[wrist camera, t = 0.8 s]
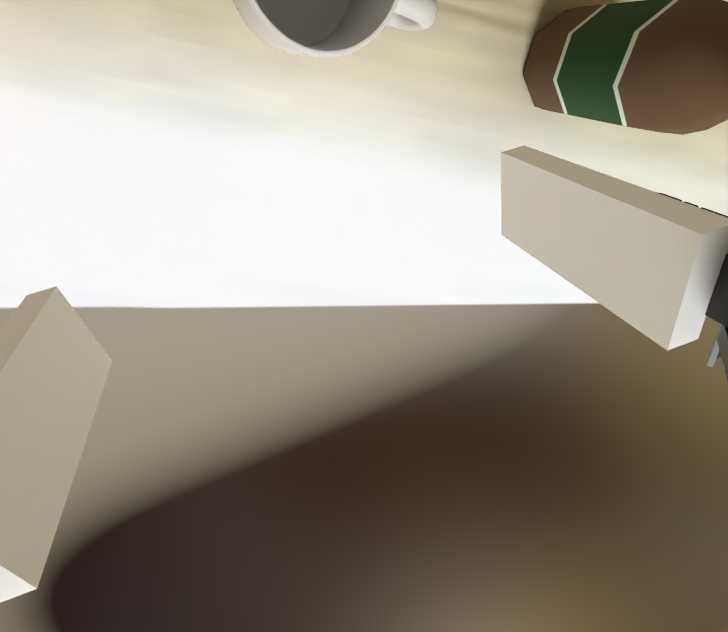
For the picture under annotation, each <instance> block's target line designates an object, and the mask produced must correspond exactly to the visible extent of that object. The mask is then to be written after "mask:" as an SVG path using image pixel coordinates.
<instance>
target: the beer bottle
mask: <svg viewBox="0 0 728 632" xmlns="http://www.w3.org/2000/svg"><path fill="white" fill-rule="evenodd" d="M523 77H524V80H525V82H526V85H527V88H528V90H529V93H530V96H531V98H532V101H533V103H534V106H535V107H538V108H541V109H545V110H548V111H553V112H558V113H563V114H568V115H573V116H578V117H583V118H588V119H592V120H597V121H602V122H607V123H612V124H617V125H622V126H627V127H632V128H638V129H644V130H650V131H656V132H663V133H673V134H682V135H683V134H688V133H693V132H698V131H703V130H707V129H709V128H711V127H713V126H715V125H717V124H719V123H721V122H724V121H726V120H728V2H727V1H723V0H644V1H634V2H624V3H615V4H605V5H595V6H586V7H579V8H574V9H569V10H566V11H564V12H563V13H562V14H561V15H560V16H558V17H557V18H556V19H555V20H554V21H552V22H551V23H550V24H549V25H548V26H546V27H545V28H544V29H543V30H542V31H540V32H539V33H538V34H537V35H536V36H535V37H534V40H533V43H532V46H531V50H530V53H529V56H528V60H527V63H526V66H525V70H524V73H523Z"/></svg>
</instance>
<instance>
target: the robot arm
mask: <svg viewBox="0 0 728 632" xmlns="http://www.w3.org/2000/svg"><path fill="white" fill-rule="evenodd" d="M501 199H502V235H503V236H504V237H506V238H507V239H509V240H510V241H511V242H513V243H514V244H516V245H517V246H519V247H520V248H522V249H523V250H524V251H526V252H527V253H529V254H530V255H532V256H533V257H534V258H536V259H537V260H539V261H540V262H542V263H543V264H544V265H546V266H547V267H549V268H550V269H552V270H553V271H554V272H556V273H557V274H559V275H560V276H562V277H563V278H564V279H566V280H567V281H569V282H570V283H572V284H573V285H574V286H576V287H577V288H579V289H580V290H582V291H583V292H584V293H586V294H587V295H589V296H590V297H592V298H593V299H594V300H596V301H597V302H599V303H600V304H602V305H603V306H605V307H606V308H607V309H609V310H610V311H612V312H613V313H615V314H616V315H617V316H619V317H620V318H622V319H623V320H625V321H626V322H627V323H629V324H630V325H632V326H633V327H635V328H636V329H637V330H639V331H640V332H642V333H643V334H645V335H646V336H647V337H649V338H650V339H652V340H653V341H655V342H656V343H657V344H659V345H660V346H662V347H663V348H665V349H666V350H670V349H673V348H675V347H678V346H680V345H683V344H686V343H688V342H691V341H694V340H696V339H698V337H699V334H700V331H701V329H702V325H703V323H704V320H705V317H706V316H708V317H710V318H712V319H714V320H715V321H717V322H719V323H721V326H720V328H719V331H718V333H717V336H716V338H715V341H714V344H713V346H712V349H711V351H710V354H709V357H708V360H707V366H710V367H713V365H714V363H715V360H716V359H717V358H719V357H720V356H721V358H722V361H723V366H722V368H724V369H725V373H726V377H727V380H728V216H725V215H722V214H720V213H717V212H714V211H711V210H708V209H705V208H703V207H702V208H698V206H697V205H694V204H691V203H688V202H682V200H680V199H677V198H674V197H671V196H668V195H666V194H663V193H657V192H653V191H650V190H648V189H645V188H642V187H639V186H636V185H634V184H631V183H628V182H625V181H622V180H619V179H617V178H614V177H611V176H608V175H605V174H603V173H600V172H597V171H594V170H591V169H588V168H586V167H583V166H580V165H577V164H574V163H572V162H569V161H566V160H563V159H560V158H557V157H555V156H552V155H549V154H546V153H543V152H541V151H538V150H535V149H532V148H529V147H527V146H521V147H518V148H514V149H511V150H508V151H505V152H501ZM111 364H112V360H111V359H110V358H109V356H108V355H107V354H106V352H105V351H104V350H103V348H102V347H101V346H100V344H99V343H98V341H97V340H96V339H95V338H94V336H93V335H92V334H91V332H90V331H89V329H88V328H87V327H86V325H85V324H84V323H83V321H82V320H81V319H80V317H79V316H78V315H77V313H76V312H75V311H74V309H73V308H72V307H71V305H70V304H69V303H68V301H67V300H66V299H65V297H64V296H63V295H62V293H61V292H60V291H59V289H58V288H57V286H56V287H53V288H50V289H46V290H43V291H40V292H36V293H33V294H30V295H27V296H26V297H25V299H24V300H23V301H22V303H21V304H20V305H19V307H18V308H17V309H16V311H15V312H14V313H13V315H12V316H11V317H10V319H9V320H8V321H7V323H6V324H5V325H4V327H3V328H2V329H1V331H0V602H3V601H5V600H8V599H11V598H13V597H16V596H19V595H21V594H24V593H27V592H29V591H32V590H35V589H37V586H38V583H39V581H40V577H41V575H42V572H43V569H44V566H45V563H46V560H47V557H48V554H49V550H50V548H51V545H52V542H53V539H54V535H55V532H56V529H57V526H58V523H59V520H60V517H61V514H62V511H63V508H64V505H65V502H66V499H67V496H68V493H69V490H70V487H71V484H72V481H73V478H74V475H75V472H76V469H77V466H78V463H79V460H80V457H81V454H82V451H83V448H84V445H85V442H86V439H87V436H88V433H89V430H90V427H91V424H92V421H93V418H94V415H95V412H96V409H97V406H98V403H99V400H100V397H101V394H102V391H103V388H104V385H105V382H106V379H107V376H108V373H109V370H110V367H111Z"/></svg>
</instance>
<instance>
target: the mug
mask: <svg viewBox="0 0 728 632" xmlns="http://www.w3.org/2000/svg"><path fill="white" fill-rule="evenodd" d="M234 2H235V4H236V7H237V9H238V11H239V13H240V15H241V16H242V18H243V20H244V21H245V23H246V24H247V25H248V27H249V28H250V29H251V30H252V32H253V33H254V34H255V35H256V36H257V37H258V38H260V39H261V40H262V41H263V42H265V43H266V44H267V45H269V46H271V47H272V48H274V49H276V50H279V51H281V52H284V53H288V54H293V55H307V56H315V57H337V56H342V55H346V54H349V53H352V52H354V51H356V50H358V49H360V48H362V47H363V46H365V45H366V44H368V43H369V42H370V41H372V40H373V39H374V38H375V37H376V36H377V35H378V34H379V33H380V32H381V31H382V29H383V28H384V27H385V25H389V26H392V27H396V28H399V29H405V30H424V29H427V28H429V27H430V26H431V25H432V23H433V22H434V20H435V18H436V15H437V10H438V6H437V1H436V0H234Z"/></svg>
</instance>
